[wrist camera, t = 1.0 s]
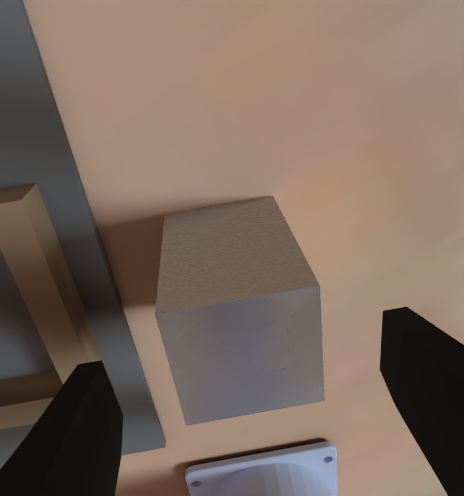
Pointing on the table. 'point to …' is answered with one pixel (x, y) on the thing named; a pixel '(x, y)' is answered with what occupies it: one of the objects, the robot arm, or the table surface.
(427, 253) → the table surface
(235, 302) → the aluminium block
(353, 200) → the table surface
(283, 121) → the table surface
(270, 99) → the table surface
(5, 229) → the dock
